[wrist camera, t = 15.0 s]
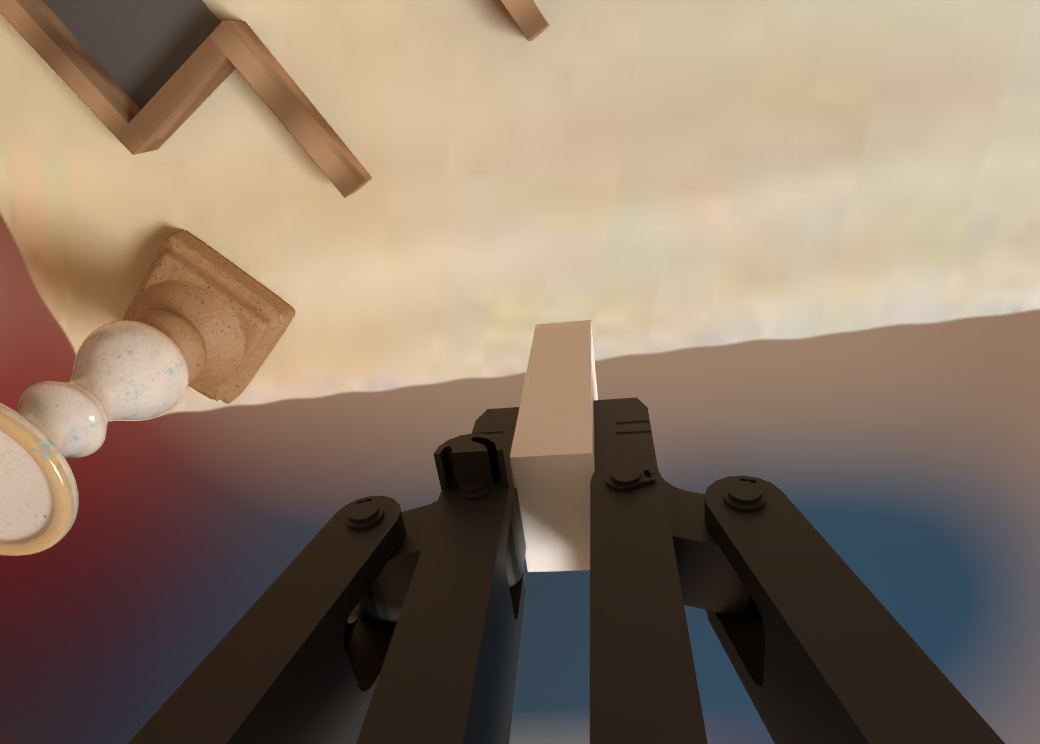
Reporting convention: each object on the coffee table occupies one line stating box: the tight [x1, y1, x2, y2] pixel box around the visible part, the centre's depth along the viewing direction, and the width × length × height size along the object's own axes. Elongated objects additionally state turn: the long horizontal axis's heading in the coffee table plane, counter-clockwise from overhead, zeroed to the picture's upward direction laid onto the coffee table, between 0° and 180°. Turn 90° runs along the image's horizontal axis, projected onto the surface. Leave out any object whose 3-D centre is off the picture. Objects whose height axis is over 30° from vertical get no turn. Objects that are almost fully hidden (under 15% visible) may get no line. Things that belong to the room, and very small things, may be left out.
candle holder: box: [0, 230, 295, 556], centre depth 44 cm, size 11×11×24 cm
